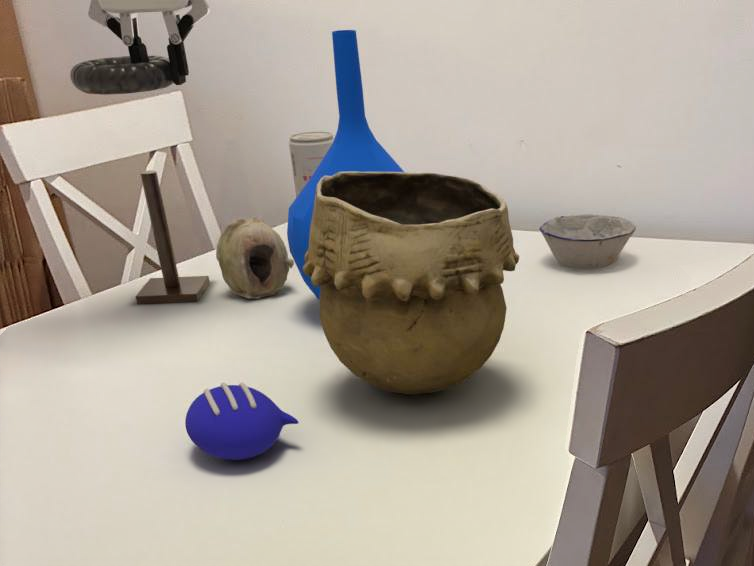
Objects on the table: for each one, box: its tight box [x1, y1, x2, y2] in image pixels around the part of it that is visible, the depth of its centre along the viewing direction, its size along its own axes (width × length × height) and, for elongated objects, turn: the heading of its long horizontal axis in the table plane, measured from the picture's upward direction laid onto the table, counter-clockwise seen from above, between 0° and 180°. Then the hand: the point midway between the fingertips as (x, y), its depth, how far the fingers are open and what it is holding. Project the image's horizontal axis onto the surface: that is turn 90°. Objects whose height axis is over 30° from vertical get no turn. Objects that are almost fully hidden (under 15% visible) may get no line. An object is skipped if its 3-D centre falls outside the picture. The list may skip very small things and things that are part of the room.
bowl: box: [539, 213, 637, 270], centre depth 136 cm, size 13×13×5 cm
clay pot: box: [303, 171, 520, 395], centre depth 97 cm, size 21×21×20 cm
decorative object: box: [184, 381, 299, 461], centre depth 91 cm, size 10×6×10 cm
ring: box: [69, 55, 174, 96], centre depth 113 cm, size 12×12×3 cm
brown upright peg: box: [135, 170, 211, 305], centre depth 128 cm, size 8×8×15 cm
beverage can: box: [288, 130, 335, 198], centre depth 145 cm, size 7×6×15 cm
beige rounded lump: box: [215, 215, 295, 300], centre depth 129 cm, size 9×8×10 cm
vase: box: [286, 29, 405, 302], centre depth 116 cm, size 18×18×30 cm
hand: (163, 82), depth 114 cm, fingers closed on ring, 3 cm apart
